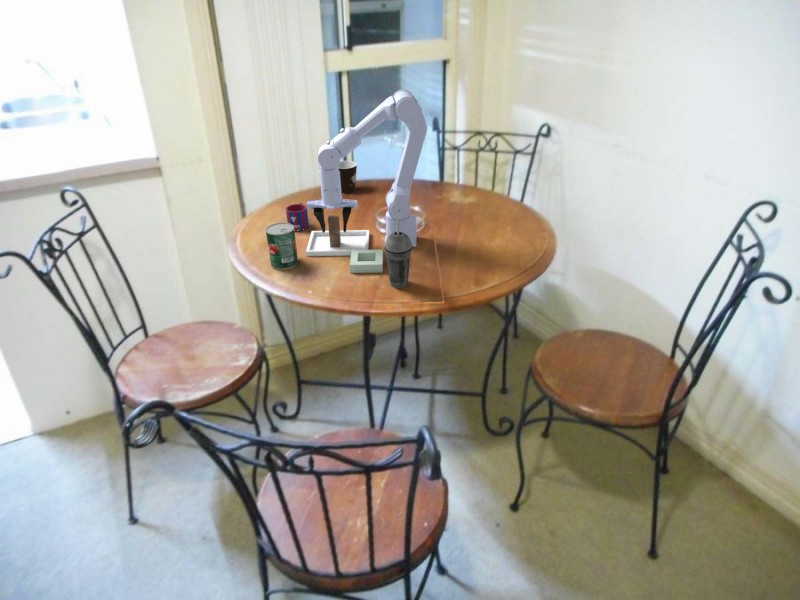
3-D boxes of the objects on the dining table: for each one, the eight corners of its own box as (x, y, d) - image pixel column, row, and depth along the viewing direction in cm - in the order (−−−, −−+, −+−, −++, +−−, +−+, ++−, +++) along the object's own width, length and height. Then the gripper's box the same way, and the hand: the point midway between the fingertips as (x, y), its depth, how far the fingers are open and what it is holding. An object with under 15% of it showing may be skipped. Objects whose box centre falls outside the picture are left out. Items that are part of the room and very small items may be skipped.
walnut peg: (340, 242, 173) (338, 215, 168) (340, 247, 171) (338, 219, 166) (331, 242, 173) (328, 215, 168) (330, 247, 171) (327, 219, 166)
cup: (285, 230, 182) (282, 211, 179) (296, 218, 191) (294, 199, 187) (304, 232, 181) (302, 212, 178) (315, 219, 189) (313, 200, 186)
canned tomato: (264, 265, 163) (259, 230, 157) (284, 254, 169) (279, 220, 163) (285, 272, 159) (280, 236, 153) (304, 261, 165) (299, 226, 159)
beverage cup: (411, 278, 155) (411, 210, 145) (413, 292, 149) (413, 222, 138) (385, 279, 155) (383, 211, 144) (385, 293, 149) (383, 223, 138)
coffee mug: (349, 184, 216) (347, 159, 211) (362, 191, 211) (361, 164, 206) (323, 192, 210) (321, 166, 205) (337, 199, 205) (335, 172, 199)
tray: (369, 235, 178) (369, 230, 177) (367, 256, 167) (367, 250, 165) (312, 236, 178) (311, 231, 177) (306, 257, 166) (305, 251, 165)
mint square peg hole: (383, 258, 165) (382, 249, 164) (382, 273, 158) (382, 264, 156) (352, 259, 165) (351, 250, 164) (350, 274, 158) (349, 264, 156)
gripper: (303, 193, 159) (308, 237, 166) (355, 192, 159) (358, 236, 166) (307, 184, 165) (311, 226, 172) (356, 183, 165) (359, 226, 172)
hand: (334, 230), depth 170 cm, fingers open, 6 cm apart
